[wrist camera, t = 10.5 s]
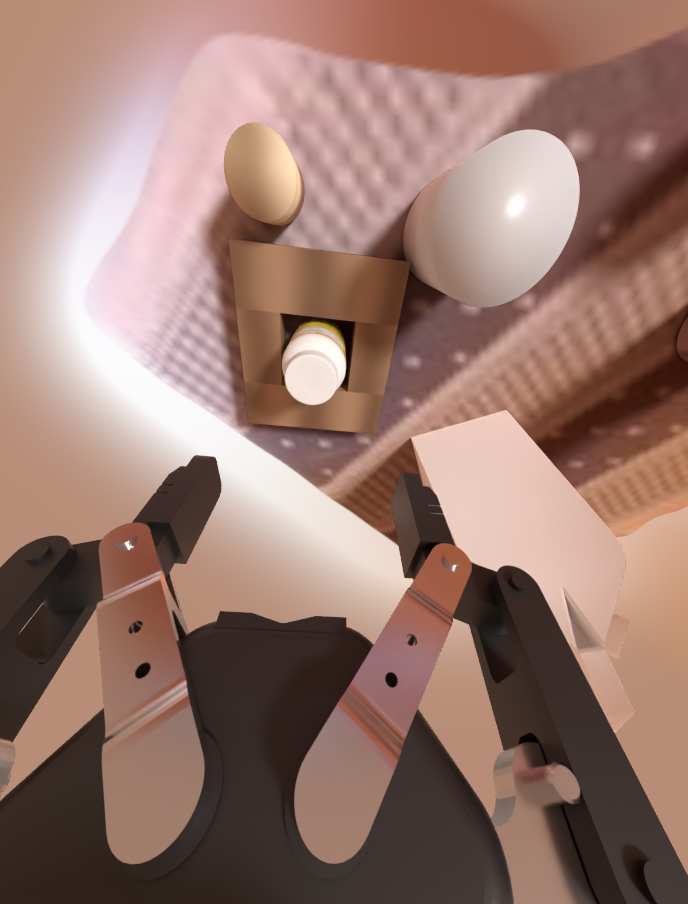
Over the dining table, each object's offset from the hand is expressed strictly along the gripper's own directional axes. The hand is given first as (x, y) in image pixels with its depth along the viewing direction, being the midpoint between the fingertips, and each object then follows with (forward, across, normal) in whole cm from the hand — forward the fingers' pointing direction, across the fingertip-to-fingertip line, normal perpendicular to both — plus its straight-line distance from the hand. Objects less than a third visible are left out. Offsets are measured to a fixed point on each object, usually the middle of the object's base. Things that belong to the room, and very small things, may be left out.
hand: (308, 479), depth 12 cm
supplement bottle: (+21, +1, 0) cm, 21 cm away
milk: (+21, -19, +13) cm, 31 cm away
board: (+20, +1, 0) cm, 20 cm away
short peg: (+20, +5, -12) cm, 24 cm away
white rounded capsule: (+20, -9, -10) cm, 25 cm away
